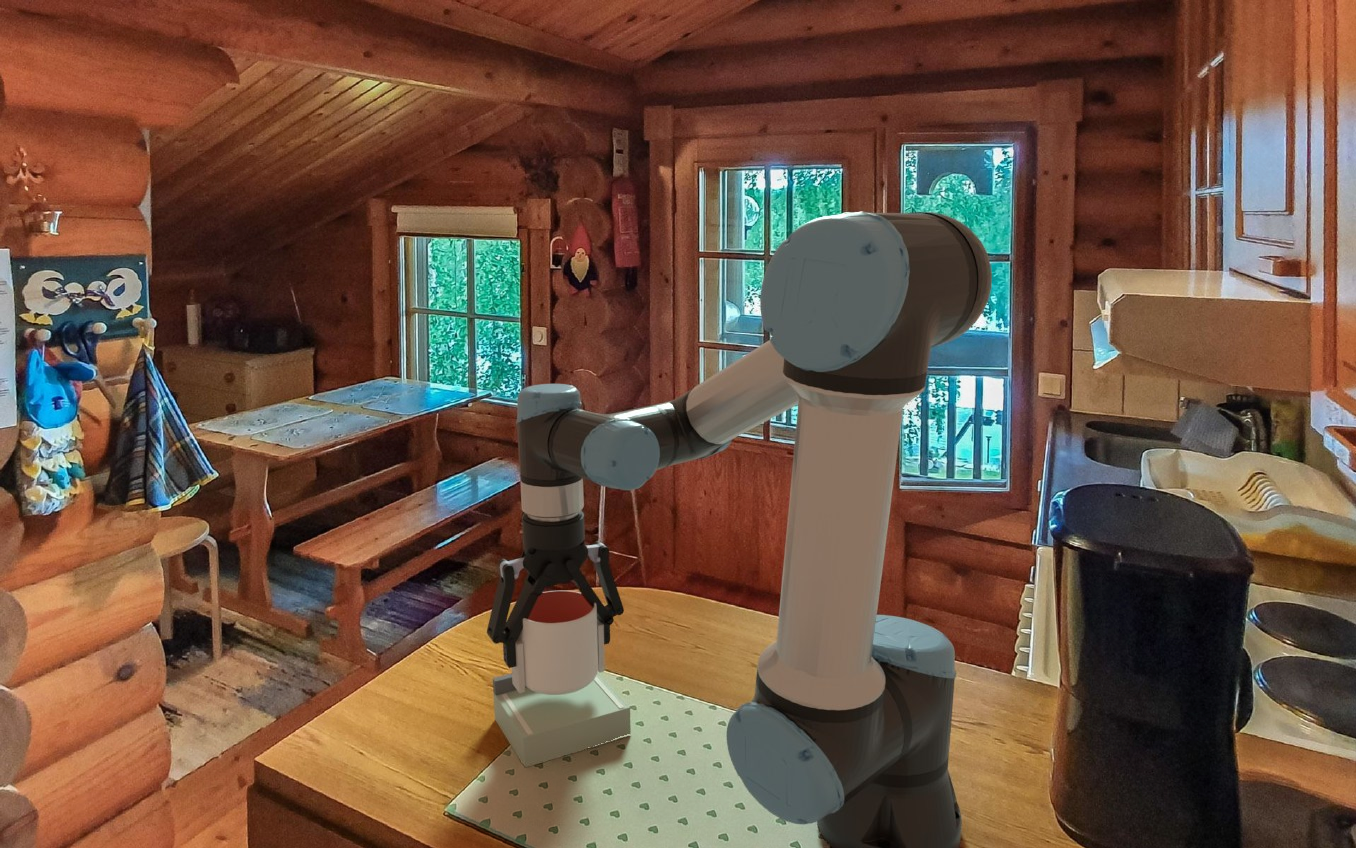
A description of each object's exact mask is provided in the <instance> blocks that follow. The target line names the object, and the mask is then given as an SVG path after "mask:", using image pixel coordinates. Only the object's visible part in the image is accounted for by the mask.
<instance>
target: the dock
mask: <svg viewBox="0 0 1356 848" xmlns="http://www.w3.org/2000/svg"><path fill="white" fill-rule="evenodd" d="M492 691H493V707H494V720H495V722H496V724H497V725H498V727H499V728H500V730H501V731H502V733H503V734H504V735H503V736H504V737H505V738H506V740H507V741H508V743H509V745H510V746H511V747H512V749H513V751H514V752H515V755H517V757H518V759H519V760H520V762H521V763H522V766H523V767H524V768H528V767H531V766H535V765H538V764H543V763H544V762H548V761H551V760H552V761H553V760H555V759H558V758H562V757H565V756H568V755H571V753H572V754H575V753H578V752H577V751H579V752H581V751H580V750H582V751H585V750H587V749H586V748H588V747H592V748H594V747H593V746H595V745H598V744H601V743H605V742H606V741H611V740H613V739H615V738H618V737H620V736H624V735H627V734H631V707H630V706H629V705H628V703H626V701H625V700H624V699H623V698H622V697H621V695H620V694H618V693H617V692H616V690H615V689H614V688H613V687H612V685H610V684H609V682H608V681H606V679H605V678H604V677H603V676H602V675H601V673H599V672H597V675H596V677H595V678H594V680H593V681H592V682H591V683H590V684H589V685H587V686H586V687H584V688H583V689H581V690H578V691H576V692H573V693H568V694H562V695H547V694H541V693H537V692H535V691H532V690H531V689H529V688H528V687H526V686H525V692H523V693H519V692H518V691H517V689H516V688H515V686H514V685H513V683H512V672H511V673H508V674H504V675H500V676H496V677H492ZM631 735H632V734H631ZM605 744H606V743H605ZM595 747H596V746H595ZM584 749H585V750H584ZM564 755H565V756H564Z"/></svg>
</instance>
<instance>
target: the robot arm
mask: <svg viewBox="0 0 1356 848" xmlns="http://www.w3.org/2000/svg"><path fill="white" fill-rule="evenodd" d="M992 276H993V274H992V266H991V263H990V258H989V254H988V252H987V249H986V248H985V246H984V244H983V242H982V240H980V239H979V237H978V236H977V235H976V234H975V233H974V232H973V230H972V229H971V228H969V227H968V226H967V225H965V224H964V223H962V222H961V221H959V220H957V219H956V218H953V217H951V216H948V215H945V214H941V213H937V212H929V211H928V212H926V211H921V212H920V211H918V212H917V211H915V212H899V213H898V212H865V211H857V212H849V211H846V212H842V213H838V214H836V215H827V216H822V217H818V218H814V219H812V220H809V221H808V222H806V223H804V224H802V225H801V226H799V227H797V228H796V229H795V230H793V232H792V233H790V235H789V236H788V237H787V238H785V239H783V241H782V242H781V243H780V244H779V246H778V247H777V248H776V250H775V251H774V252H773V254H772V256H771V258H770V260H769V262H768V264H767V266H766V270H765V272H764V275H763V279H762V282H761V290H760V303H759V304H760V305H759V306H760V314H761V321H762V325H763V328H764V331H766V332H767V333H769V334H770V336H771V338H770V339H769V340H767V341H766V342H764V343H763V344H761V345H759V346H757V347H756V348H755V349H753V350H752V351H749V353H747V354H745V355H743V356H742V357H740V358H739V359H737V360H735V361H733V362H732V363H731V364H729V365H728V366H725V367H724V368H723V369H721V370H719V371H718V372H716V373H715V374H713V375H712V376H710V377H708V378H707V379H705V380H704V381H702V382H700V383H699V384H697V385H696V386H694V387H693V388H692V389H690V390H688V391H687V392H685V393H683V394H682V395H680V396H678V397H677V398H674V399H672V400H670V401H665V402H661V403H656V404H653V405H648V406H643V407H638V408H633V409H627V410H624V411H618V412H615V413H606V414H603V413H602V414H601V413H597V412H591V411H587V410H585V409H582V407H583V403H582V399H581V392H580V391H579V389H577V388H576V386H574V385H572V384H571V385H570V384H565V383H541V384H533V385H530V386H527V387H525V388H522V389H521V390H520V391H519V393H518V395H517V400H516V401H517V402H516V403H517V408H516V409H517V410H516V411H517V414H516V415H517V418H516V421H515V424H516V430H517V432H516V433H517V434H516V435H517V446H518V464H519V475H520V497H521V498H520V500H521V504H520V505H521V511H522V512H523V515H522V516H521V524H522V526H521V527H522V545H523V550H522V553H521V555H520V557H519V558H516V559H512V560H509V561H508V560H507V559H505V558H501V559H499V561H498V562H497V569H498V575H499V578H498V581H497V586H496V590H495V591H496V592H495V595H494V598H493V599H494V600H493V604H492V607H491V612H490V615H489V621H488V624H487V629H486V634H487V636H488V637H489V639H490V640H491V641H492V642H493V643H494V644H495V645H496V644H499V643H501V644H502V652H503V653H502V654H503V661H504V663H505V665H506V666H507V667H508V669H510V668H511V673H512V683H513V685H514V686H515V688H516V689H517V691H518V692H519V693H523V692H525V676H524V655H523V643H522V642H521V641H520V639H519V638H518V637H519V635H520V633H521V631H522V629H523V619H524V618H526V619H528V617H529V615H530V613H531V611H532V609H533V607H534V605H535V603H536V601H537V599H538V597H539V596H541V594H542V593H543V592H545V591H544V590H545V588H552V587H553V588H554V586H557V585H566V584H571V581H572V583H573V585H575V586H576V588H577V589H578V592H579V593H581V594H582V595H583V597H584V598H585V599H586V601H587V602H588V603H589V604H590V605H591V606H592V607H593V608H594V603H596V606H597V640H598V673H599V674H601V673H604V672H606V668H605V667H606V665H605V664H606V662H605V659H606V658H605V645H608V644H610V642H611V625H613V624H614V621H615V620H614V617H616V616H621V615H623V614H624V611H625V608H624V606H623V603H622V599H621V596H620V593H619V590H618V587H617V584H616V581H615V578H614V575H613V572H612V569H611V565H610V548H609V547H608V546H607V545H605V544H604V543H602V542H601V541H599V540H596V541H595V542H594V543H593V544H591V545H589V544H588V545H586V543H585V537H586V536H585V531H586V530H585V513H584V512H583V508H584V506H585V503H584V500H585V499H584V496H585V495H584V481H583V479H585V480H586V481H590V482H593V483H595V484H597V485H600V486H601V487H607V488H609V489H618V490H620V491H621V490H622V491H633V490H637V489H639V488H641V487H643V486H644V485H645V483H647V481H648V480H650V479H651V478H652V477H653V476H654V474H655V473H656V472H657V471H658V470H661V469H665V468H668V467H671V466H674V465H678V464H682V463H686V462H691V461H695V460H703V459H707V458H709V457H710V456H714V455H716V454H717V453H720V452H722V451H725V449H727V448H728V447H729V446H730V444H731V442H732V441H733V439H736V438H737V437H739V436H741V435H743V434H744V433H747V432H748V431H750V430H752V429H754V428H756V427H757V426H761V424H763V423H765V422H768V421H769V420H771V419H772V418H775V417H778V416H779V415H780V414H783V413H784V412H786V411H788V410H790V409H792V408H794V407H796V406H797V414H796V426H795V435H794V437H795V438H794V447H793V457H792V468H791V477H790V478H791V481H790V491H789V501H788V502H789V503H788V511H787V513H788V514H787V524H786V533H785V534H786V535H785V544H784V545H785V546H784V556H783V557H784V558H783V565H782V566H783V567H782V568H783V569H782V576H781V577H782V578H781V588H780V589H781V591H780V601H779V611H778V623H777V633H776V641H775V642H773V643H772V644H770V645H768V646H767V647H766V648H765V649H763V651H761V653H760V655H759V657H758V661H757V667H756V678H755V688H754V689H755V690H754V696H753V699H752V700H751V701H750V702H744V703H743V704H741V705H740V706H739V707H737V710H736V711H735V712H734V713H733V714H732V715H731V716H730V718H729V720H728V723H727V728H726V745H727V750H728V751H727V752H728V755H729V757H730V761H731V763H732V766H733V768H734V770H735V772H736V774H737V776H738V777H739V778H740V780H741V782H742V783H743V785H744V787H745V788H746V790H747V791H748V793H749V794H750V795H751V796H752V797H753V798H754V799H755V801H756V802H758V804H759V805H760V806H762V807H763V808H764V809H765V810H767V811H768V813H770V814H772V815H773V816H774V817H775V816H776V817H777V818H779V819H781V820H783V821H785V822H787V823H791V824H795V825H809V824H810V825H811V824H814V823H817V827H818V830H819V832H820V834H821V835H822V838H823V839H824V840H825V842H826V843H827V844H828V845H829V846H830V847H831V848H960V845H961V841H962V840H961V838H962V824H963V823H962V821H963V820H962V813H961V810H960V806H959V803H958V801H957V796H956V792H955V789H954V785H953V781H952V778H951V775H950V772H949V759H950V756H949V755H950V745H951V744H950V743H951V732H952V731H951V730H952V717H953V706H954V705H953V703H954V691H955V678H957V671H956V669H955V667H956V666H955V663H956V661H955V660H956V658H955V657H956V653H955V648H954V645H953V644H952V642H951V641H950V640H949V638H948V637H947V636H946V635H945V634H944V633H943V632H941V631H940V630H938V629H936V628H934V627H933V626H931V625H928V624H925V623H922V622H919V621H917V620H913V619H910V618H906V617H901V616H894V615H887V614H878V607H879V599H880V592H881V584H882V583H881V582H882V576H883V566H884V562H885V561H884V559H885V552H886V551H885V550H886V544H887V537H888V528H889V520H890V513H891V512H890V511H891V504H892V495H893V489H894V479H895V475H896V464H897V459H898V458H897V457H898V450H899V449H898V448H899V442H900V441H899V440H900V434H901V427H902V418H903V410H904V407H905V406H906V405H907V404H908V403H910V402H911V401H913V400H914V399H915V398H917V397H918V396H919V395H921V394H922V393H923V392H924V391H925V389H926V384H927V383H926V381H927V375H928V368H929V363H930V362H929V361H930V354H931V348H934V347H937V346H941V345H944V344H947V343H949V342H952V341H953V340H955V339H958V338H959V337H960V336H962V335H963V334H965V333H966V332H967V331H968V330H969V329H970V328H971V327H973V326H974V325H975V324H976V323H977V321H978V320H979V319H980V317H981V316H982V314H983V312H984V310H985V309H986V306H987V303H988V302H989V298H990V295H991V290H992V282H993V281H992V278H993V277H992ZM588 557H589V560H590V561H592V562H593V565H594V569H595V572H596V575H597V577H598V580H599V583H600V586H601V589H602V592H603V595H604V598H605V601H606V605H604V603H602V601H601V599H600V598H599V596H598V595H597V593H596V592H595V591H594V589H593V588H592V587H591V584H589V581H588V580H587V578H586V577H585V575H584V574H583V572H582V571H581V568H582V566H583V565H584V563H585V561H586V560H587V558H588ZM523 569H524V570H525V571H526V572H527V575H526V577H525V579H524V581H523V587H522V589H521V591H520V594H519V595H518V597H517V600H516V602H515V603H514V605H513V607H512V610H511V612H510V614H509V611H510V608H511V603H512V600H513V595H514V591H515V587H516V586H515V584H516V579H519V575H520V571H522V570H523Z"/></svg>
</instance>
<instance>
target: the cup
mask: <svg viewBox="0 0 1356 848" xmlns="http://www.w3.org/2000/svg"><path fill="white" fill-rule="evenodd" d="M518 638H519V639H520V641H521V642H522V643H523V655H524V676H525V686H526V687H528V688H529V689H531V690H532V691H535V692H537V693H541V694H547V695H562V694H568V693H573V692H576V691H578V690H581V689H583V688H584V687H586V686H587V685H589V684H590V683H591V682H592V681H593V680H594V678H595V677H596V675H597V672H598V640H597V606H596V603H594V608H593V607H592V606H591V605H590V604H589V603H588V602H587V601H586V599H585V598H584V597H583V595H582V594H581V592H580V591H574V590H549V591H543V593H542V594H541V596H539V597H538V599H537V601H536V603H535V605H534V607H533V609H532V611H531V613H530V615H529V617H528V619H526V618H524V619H523V629H522V631H521V633H520V635H519V637H518ZM598 673H599V672H598Z"/></svg>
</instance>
